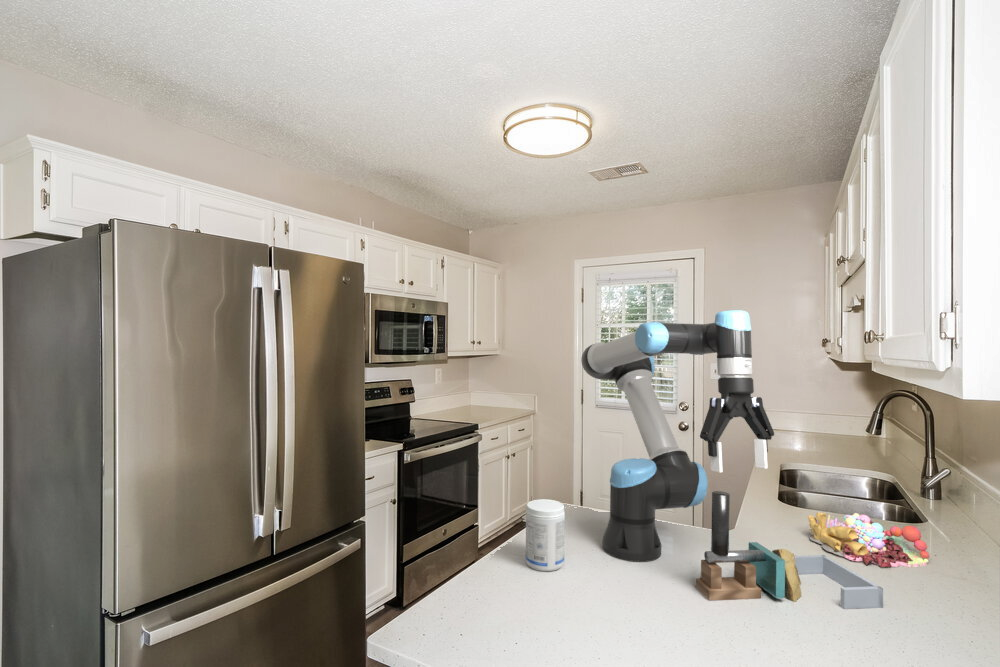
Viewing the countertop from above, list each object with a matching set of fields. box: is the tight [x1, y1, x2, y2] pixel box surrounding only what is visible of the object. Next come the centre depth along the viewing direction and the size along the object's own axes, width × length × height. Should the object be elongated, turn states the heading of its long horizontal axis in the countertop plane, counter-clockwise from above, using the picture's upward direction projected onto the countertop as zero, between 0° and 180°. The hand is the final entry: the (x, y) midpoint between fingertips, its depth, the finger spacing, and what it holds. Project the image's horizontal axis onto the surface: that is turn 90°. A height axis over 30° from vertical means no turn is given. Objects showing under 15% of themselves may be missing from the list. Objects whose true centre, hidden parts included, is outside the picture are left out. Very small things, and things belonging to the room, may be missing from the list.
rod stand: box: [695, 559, 762, 601], centre depth 114 cm, size 12×6×6 cm, turn 97°
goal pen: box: [794, 554, 884, 610], centre depth 117 cm, size 9×17×4 cm, turn 7°
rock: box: [771, 548, 802, 603], centre depth 116 cm, size 10×8×10 cm
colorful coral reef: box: [807, 511, 930, 568], centre depth 141 cm, size 25×24×9 cm
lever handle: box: [703, 490, 786, 599], centre depth 114 cm, size 15×10×21 cm, turn 97°
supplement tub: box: [525, 498, 566, 572], centre depth 127 cm, size 10×10×15 cm
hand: (739, 469), depth 118 cm, fingers open, 13 cm apart
